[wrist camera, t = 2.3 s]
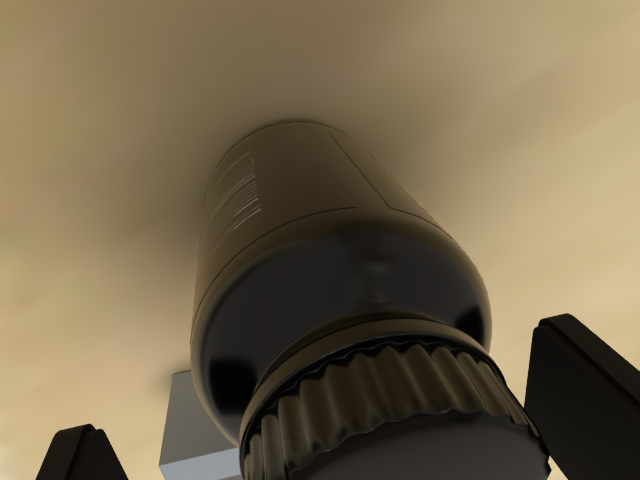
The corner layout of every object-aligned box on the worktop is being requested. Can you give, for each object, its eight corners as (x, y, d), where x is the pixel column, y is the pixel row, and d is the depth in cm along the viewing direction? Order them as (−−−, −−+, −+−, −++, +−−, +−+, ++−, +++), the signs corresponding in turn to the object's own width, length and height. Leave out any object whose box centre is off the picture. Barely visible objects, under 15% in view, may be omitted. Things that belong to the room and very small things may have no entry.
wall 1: (173, 374, 20) (158, 465, 16) (449, 315, 21) (500, 386, 17) (182, 398, 20) (170, 491, 16) (449, 339, 22) (497, 412, 18)
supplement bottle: (253, 306, 19) (282, 681, 8) (169, 165, 15) (37, 498, 5) (402, 241, 19) (623, 542, 8) (349, 85, 15) (607, 254, 5)
